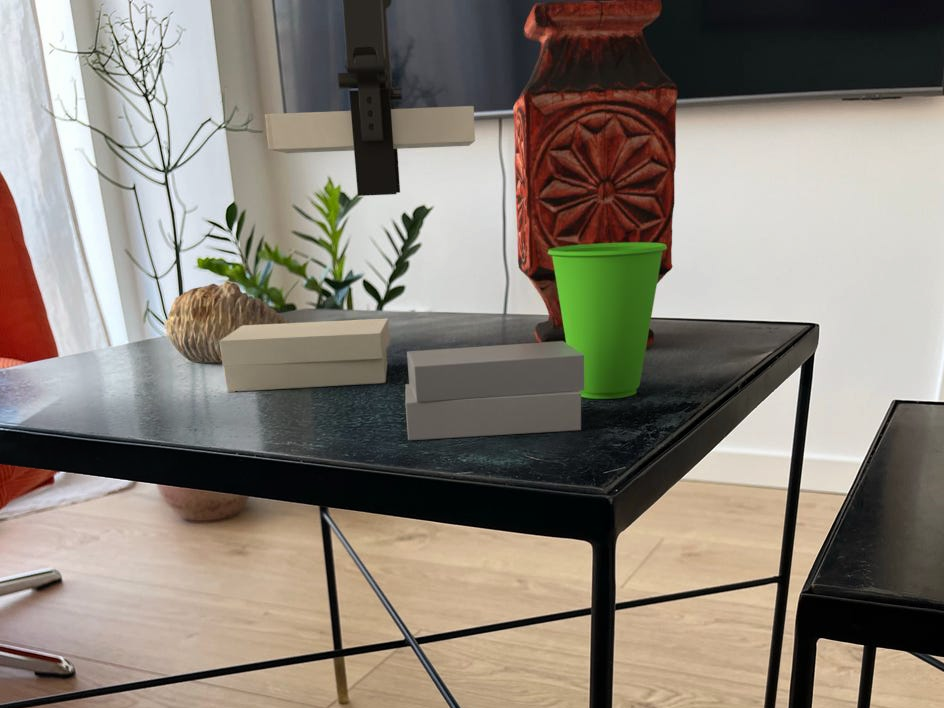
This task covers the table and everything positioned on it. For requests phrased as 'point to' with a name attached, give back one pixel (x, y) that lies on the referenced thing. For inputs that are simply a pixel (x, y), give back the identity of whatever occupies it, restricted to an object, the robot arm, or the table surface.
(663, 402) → the table surface
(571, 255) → the cup
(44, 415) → the table surface
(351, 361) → the white pile
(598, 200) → the vase
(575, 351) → the grey books
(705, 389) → the table surface
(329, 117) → the white book
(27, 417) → the table surface
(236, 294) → the seashell
